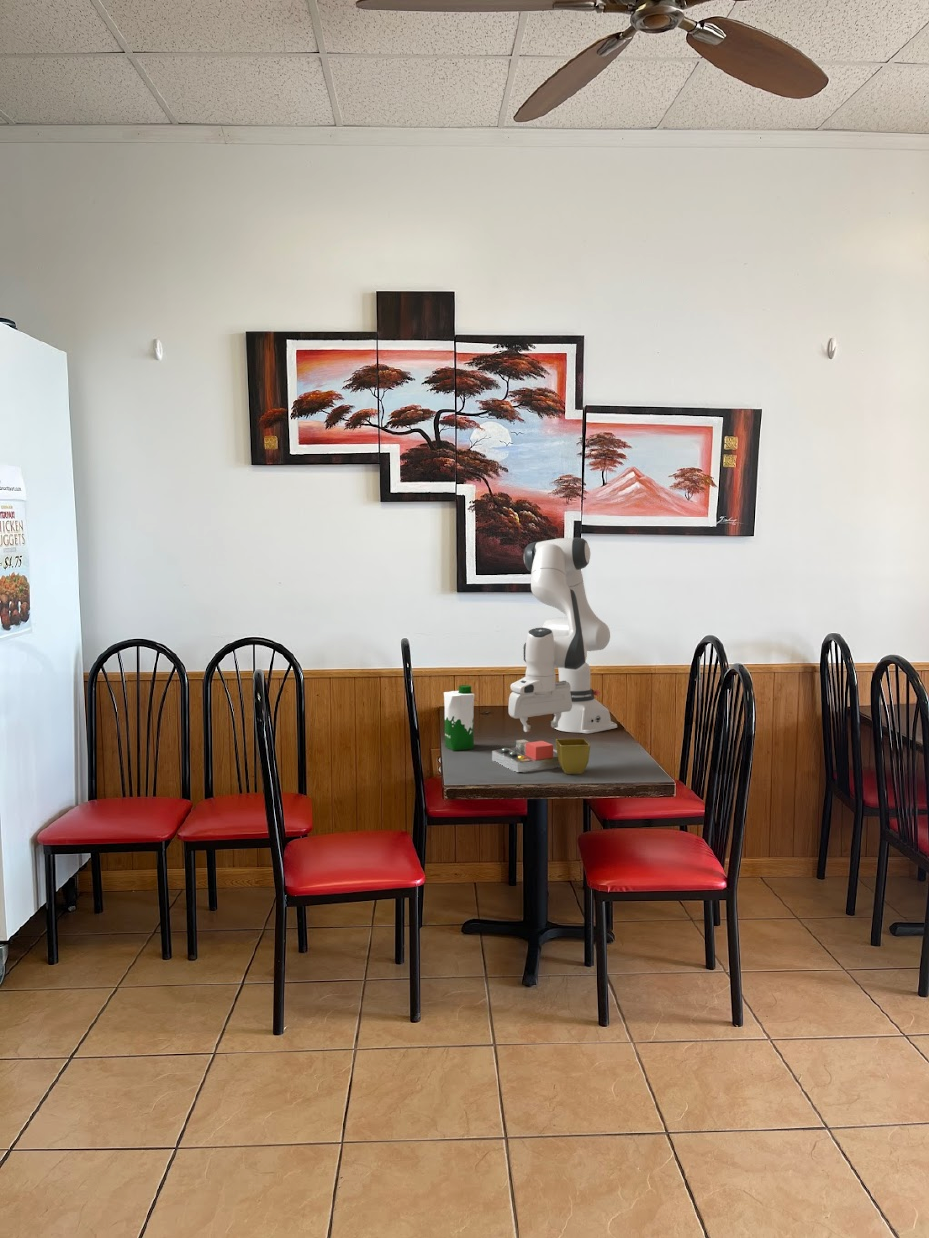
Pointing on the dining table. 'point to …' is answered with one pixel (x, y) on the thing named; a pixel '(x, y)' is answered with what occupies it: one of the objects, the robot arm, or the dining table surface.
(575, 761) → the flower pot
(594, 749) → the dining table surface
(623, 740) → the dining table surface
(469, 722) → the milk carton
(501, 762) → the breaker panel
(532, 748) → the cap
